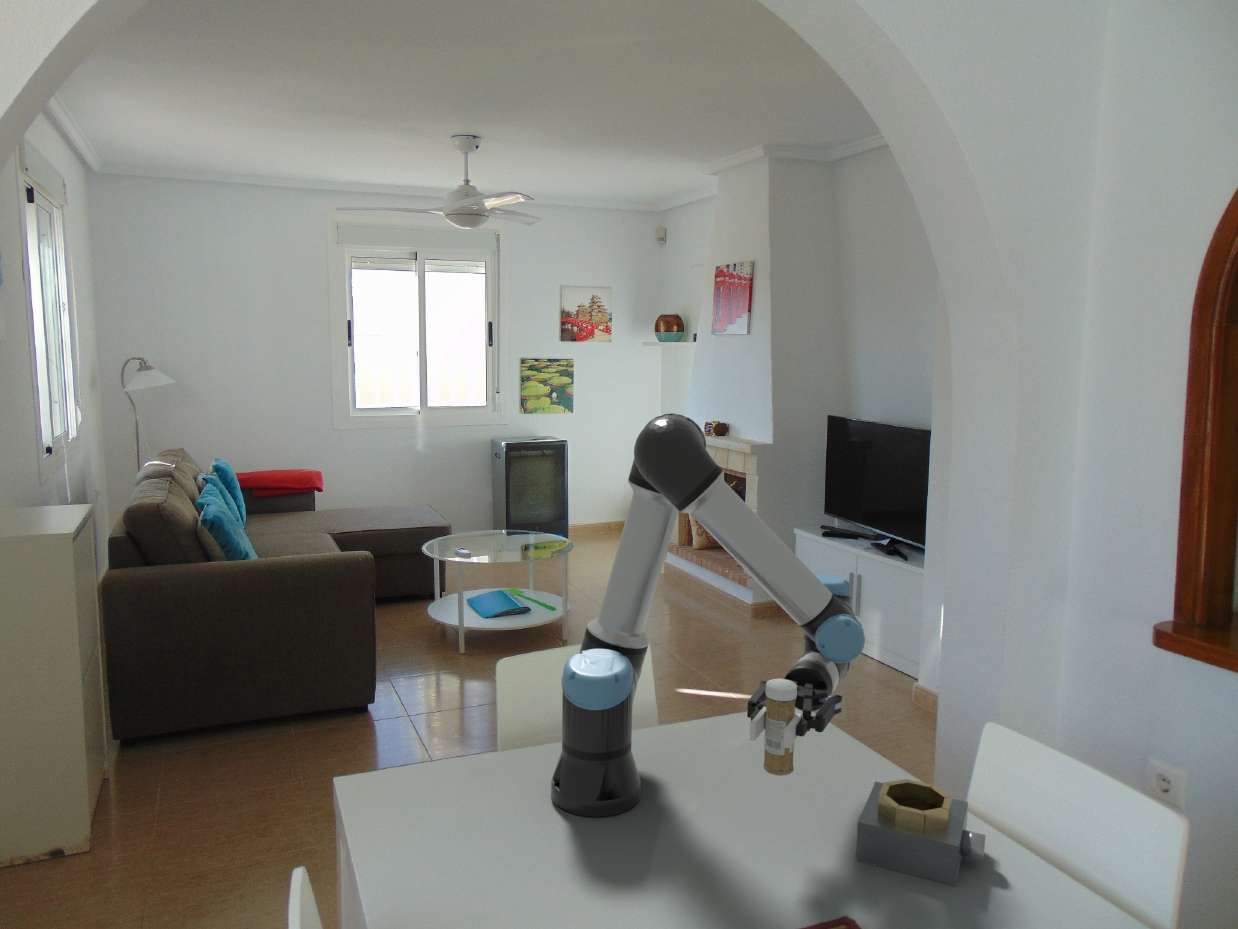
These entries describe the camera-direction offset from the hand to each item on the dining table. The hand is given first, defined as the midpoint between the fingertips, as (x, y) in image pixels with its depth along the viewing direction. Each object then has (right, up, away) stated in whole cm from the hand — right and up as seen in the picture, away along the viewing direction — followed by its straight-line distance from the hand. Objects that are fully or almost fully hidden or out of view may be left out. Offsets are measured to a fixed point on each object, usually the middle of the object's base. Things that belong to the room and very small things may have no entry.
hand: (769, 735), depth 127 cm
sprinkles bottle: (+2, -7, +6) cm, 9 cm away
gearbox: (+24, -20, +7) cm, 32 cm away
